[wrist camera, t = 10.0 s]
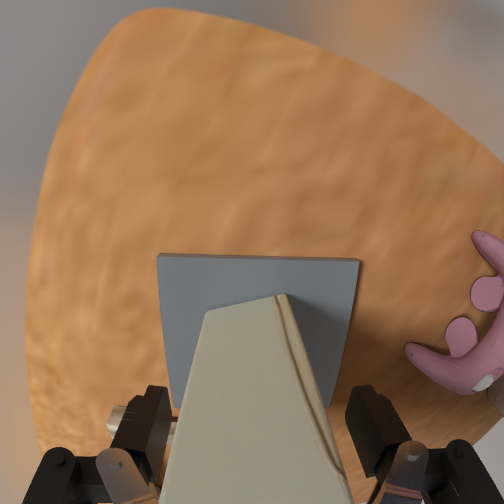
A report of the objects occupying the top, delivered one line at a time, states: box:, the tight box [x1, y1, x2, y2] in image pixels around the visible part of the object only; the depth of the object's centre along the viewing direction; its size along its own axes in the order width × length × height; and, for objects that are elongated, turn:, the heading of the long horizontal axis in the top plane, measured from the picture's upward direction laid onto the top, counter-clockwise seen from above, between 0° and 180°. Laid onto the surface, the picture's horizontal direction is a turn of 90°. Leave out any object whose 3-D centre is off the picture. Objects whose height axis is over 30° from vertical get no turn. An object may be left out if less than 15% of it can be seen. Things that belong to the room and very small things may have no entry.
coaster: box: [157, 253, 359, 408], centre depth 16 cm, size 10×10×1 cm
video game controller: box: [404, 230, 504, 396], centre depth 14 cm, size 10×5×7 cm, turn 151°
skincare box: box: [159, 294, 354, 504], centre depth 9 cm, size 6×4×12 cm
